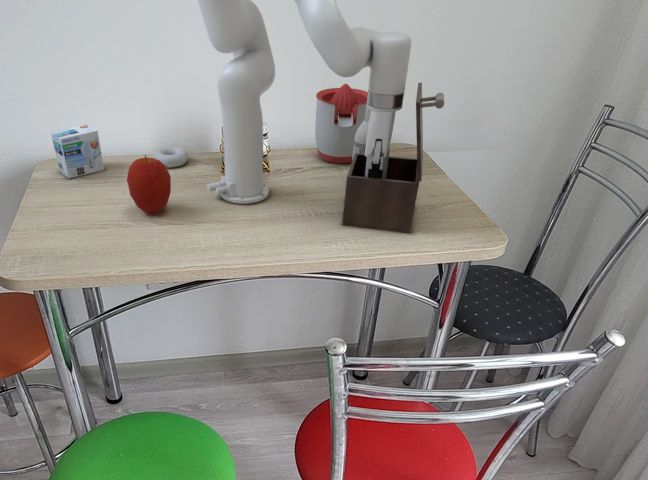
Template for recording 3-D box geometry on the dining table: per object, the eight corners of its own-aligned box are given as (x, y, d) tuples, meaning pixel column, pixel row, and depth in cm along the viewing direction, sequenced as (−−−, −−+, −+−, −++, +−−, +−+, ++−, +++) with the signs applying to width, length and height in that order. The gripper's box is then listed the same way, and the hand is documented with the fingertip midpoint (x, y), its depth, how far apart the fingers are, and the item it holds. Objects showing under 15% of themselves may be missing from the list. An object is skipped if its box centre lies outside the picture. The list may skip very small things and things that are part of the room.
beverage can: (369, 190, 136) (375, 140, 128) (386, 196, 134) (394, 145, 126) (358, 197, 133) (364, 146, 125) (376, 203, 131) (383, 151, 123)
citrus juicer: (313, 169, 157) (317, 93, 144) (311, 146, 170) (315, 75, 158) (369, 170, 157) (379, 94, 144) (363, 147, 170) (372, 76, 157)
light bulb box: (69, 179, 151) (59, 138, 144) (58, 171, 155) (49, 131, 148) (105, 169, 156) (98, 130, 149) (94, 162, 160) (87, 123, 153)
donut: (185, 154, 165) (151, 157, 163) (184, 143, 163) (149, 145, 161) (192, 167, 158) (156, 171, 155) (191, 155, 156) (155, 158, 153)
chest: (342, 225, 132) (347, 176, 124) (349, 199, 143) (354, 152, 135) (409, 233, 129) (419, 183, 121) (412, 205, 140) (421, 158, 132)
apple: (182, 211, 137) (176, 154, 128) (147, 224, 131) (139, 166, 123) (158, 197, 142) (151, 142, 134) (123, 209, 137) (114, 153, 128)
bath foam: (361, 191, 146) (371, 111, 133) (344, 182, 151) (352, 103, 138) (381, 185, 149) (392, 106, 136) (364, 176, 154) (373, 99, 141)
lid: (415, 102, 112) (444, 99, 110) (418, 82, 122) (444, 79, 121) (417, 182, 121) (443, 179, 120) (419, 157, 132) (443, 154, 131)
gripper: (371, 87, 126) (362, 166, 138) (363, 110, 114) (354, 195, 125) (405, 89, 125) (393, 169, 137) (400, 113, 112) (388, 198, 124)
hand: (374, 181), depth 131 cm, fingers closed on beverage can, 4 cm apart
